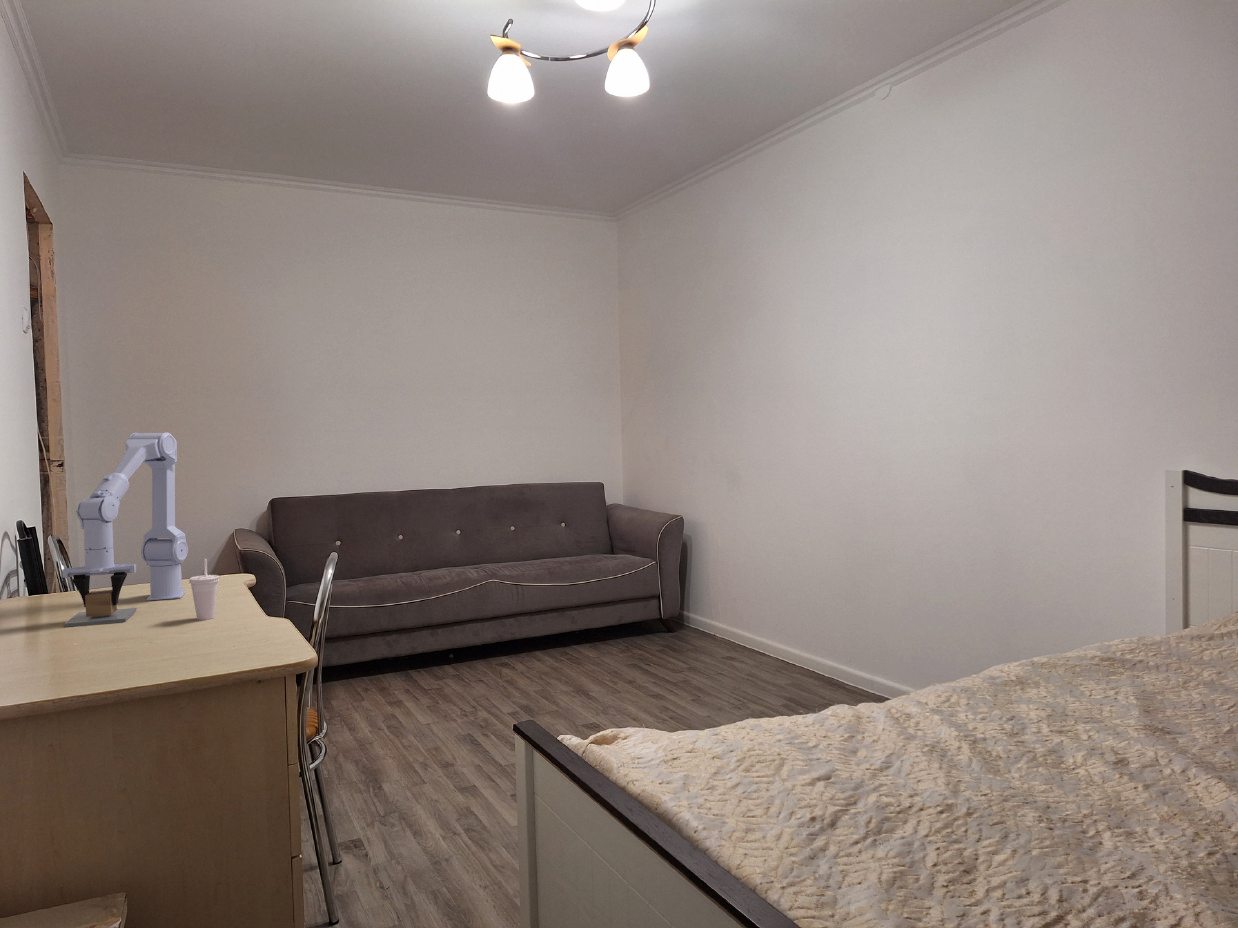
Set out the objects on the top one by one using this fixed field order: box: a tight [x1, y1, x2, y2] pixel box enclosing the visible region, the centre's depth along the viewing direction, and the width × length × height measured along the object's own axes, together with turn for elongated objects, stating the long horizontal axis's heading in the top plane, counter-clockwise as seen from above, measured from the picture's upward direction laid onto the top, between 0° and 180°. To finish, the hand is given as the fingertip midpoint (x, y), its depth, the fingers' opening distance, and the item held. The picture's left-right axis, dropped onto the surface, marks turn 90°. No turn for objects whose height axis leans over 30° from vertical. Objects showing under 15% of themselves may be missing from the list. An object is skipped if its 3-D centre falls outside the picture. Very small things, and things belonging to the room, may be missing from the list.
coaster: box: [63, 607, 137, 628], centre depth 188 cm, size 12×12×1 cm
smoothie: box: [188, 558, 220, 621], centre depth 187 cm, size 6×6×14 cm
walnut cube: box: [85, 589, 117, 617], centre depth 187 cm, size 5×5×5 cm
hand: (101, 605), depth 187 cm, fingers closed on walnut cube, 5 cm apart
